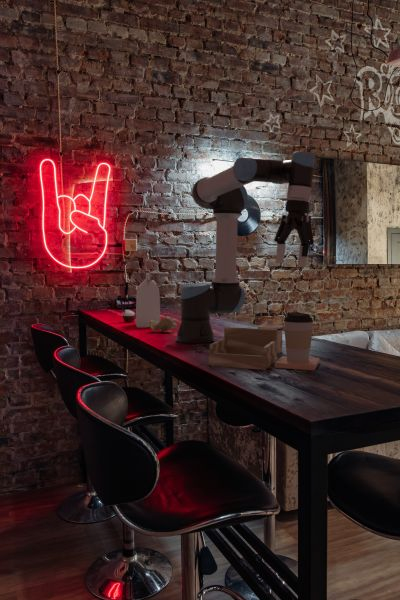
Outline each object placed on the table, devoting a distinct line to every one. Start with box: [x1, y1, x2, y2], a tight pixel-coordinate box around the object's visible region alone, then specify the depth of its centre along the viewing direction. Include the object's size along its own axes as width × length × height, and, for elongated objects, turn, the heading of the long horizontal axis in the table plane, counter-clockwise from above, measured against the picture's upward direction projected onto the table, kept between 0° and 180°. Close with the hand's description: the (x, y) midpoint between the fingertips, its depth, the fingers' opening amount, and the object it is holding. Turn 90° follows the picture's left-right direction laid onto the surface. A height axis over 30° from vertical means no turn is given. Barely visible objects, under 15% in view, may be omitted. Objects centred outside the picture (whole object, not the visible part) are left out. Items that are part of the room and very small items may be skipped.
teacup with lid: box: [257, 318, 284, 354], centre depth 194 cm, size 12×9×12 cm
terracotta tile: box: [274, 355, 320, 371], centre depth 168 cm, size 12×12×2 cm
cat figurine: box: [149, 316, 178, 334], centre depth 243 cm, size 8×7×12 cm
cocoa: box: [119, 299, 136, 323], centre depth 282 cm, size 10×6×12 cm, turn 103°
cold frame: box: [208, 326, 278, 371], centre depth 172 cm, size 18×18×10 cm
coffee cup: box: [283, 312, 314, 363], centre depth 167 cm, size 9×9×15 cm
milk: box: [135, 272, 162, 328], centre depth 266 cm, size 12×12×26 cm
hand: (290, 265), depth 178 cm, fingers open, 13 cm apart
